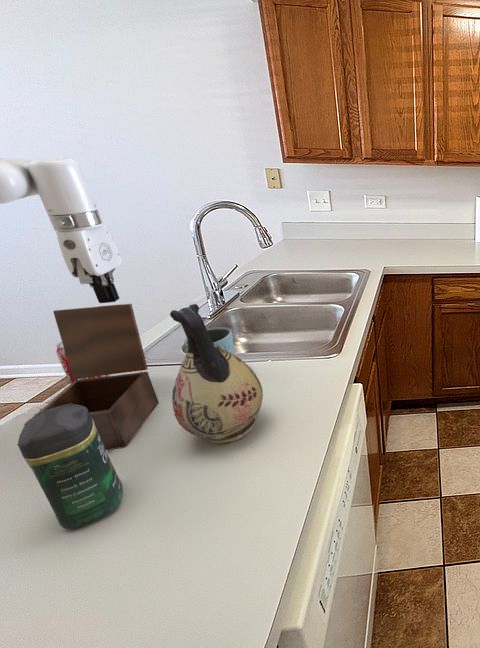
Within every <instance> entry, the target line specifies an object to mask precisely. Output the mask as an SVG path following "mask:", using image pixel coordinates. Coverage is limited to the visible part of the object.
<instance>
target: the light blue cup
mask: <svg viewBox="0 0 480 648" xmlns="http://www.w3.org/2000/svg"><path fill="white" fill-rule="evenodd" d="M206 329H207V331H208V333H209V337H210V339H211V341H212V342H213V343H214V344H215V345H217V346H219V347H221V348H223V349H224V350H226V351H228V352H230V353H232V354H233V355H235V356H236V355H237V354H236V350H235V346H234V345H235V344H234V337H233V333H232V329H230V328H229V327H226V326H225V327H223V326H219V327H218V326H217V327H209V328H206ZM183 344H184V347H185V348H186V351H187V350H188V343H187V337H185V339H184V340H183ZM236 357H237V356H236Z"/></svg>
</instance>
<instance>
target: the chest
mask: <svg viewBox="0 0 480 648" xmlns="http://www.w3.org/2000/svg"><path fill="white" fill-rule="evenodd" d="M70 403H72V404H76V405H81V406H84V407H86V408H87V409H88V411H89V414H90V416H91V417H92V419H93V422H94V424H95V426H96V428H97V431H98V433H99V436H100V438H101V440H102V443H103V445H104V447H105V449H106V451H108V450H114V449H120V448H126V447H127V446H128V445H129V444H130V442H131V441H132V440H133V439H134V437H135V436H136V434H138V432H139V431H140V429H141V428H142V427H143V425H144V424H145V423H146V421H147V420H148V419H149V417H150V416H151V415H152V413H153V412H154V411H155V409H157V407H158V406H159V404H160V401H159V398H158V395H157V393H156V390H155V387H154V385H153V382H152V380H151V378H150V375H149V372H148V371H138V372H130V373H122V374H114V375H110V376H107V377H99V378H91V379H83V380H75V381H74V382H73V383H72V384H70V383H69V385H68V386H67V387H65V388H64V389H63V390H62V391H61V392H59V394H58V395H56V396H55V397H53V399H51V400H50V401H49V402H48V403H47V404H46V405H45V406H43V408H41V409H40V410H38V412H37V413H39V412H42V411H45V410H48V409H51V408H55V407H59V406H62V405H66V404H70ZM37 413H35V414H34V415H33V416H32V417H30V418H29V419H28V420H27V421H26V422H25V423H24V424H23V425H24V426H25V425H26V424H27V423H28V422H29V421H30V420H31V419H32V418H33V417H35V416H36V415H37Z"/></svg>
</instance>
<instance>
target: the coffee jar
mask: <svg viewBox="0 0 480 648" xmlns="http://www.w3.org/2000/svg"><path fill="white" fill-rule="evenodd" d="M38 412H39V411H38ZM38 412H36V414H37V415H36V416H35V417H33V416H32V417H33V418H32V417H31V418H32V419H31V418H30V419H31V420H30V419H29V420H30V421H29V422H28V423H27V424H26V425H24V426H23V427H22V430H21V431H20V434H19V437H18V441H17V444H16V445H17V446H18V448H19V450H20V453H21V455H22V457H23V459H24V460H25V462H26V464H27V465H28V466H29V467H30V469H31V471H32V473H33V474H34V476H35V479H36V480H37V482H38V483H39V484H38V485H39V486H40V488H41V490H42V492H43V493H44V495H45V497H46V499H47V501H48V503H49V505H50V508H51V509H52V511H53V513H54V515H55V518H56V519H57V521H58V523H59V525H60V526H61V528H62V529H66V530H72V529H77V528H81V527H85V526H87V525H91V524H92V523H95V522H97V521H99V520H101V519H103V518H105V516H107V515H109V514H110V513H112V512H113V511H114V510H116V509H117V508H118V507H119V505H120V503H121V500H122V497H123V486H122V481H121V479H120V478H119V475H118V473H117V471H116V469H115V467H114V465H113V463H112V460H111V459H110V456H109V454H108V452H107V451H108V450H106V449H105V447H104V445H103V443H102V440H101V438H100V436H99V433H98V431H97V428H96V426H95V424H94V422H93V419H92V417H91V416H90V414H89V411H88V409H87V408H86V407H84V406H81V405H76V404H72V403H70V404H66V405H62V406H59V407H55V408H51V409H48V410H45V411H42V412H39V413H38Z"/></svg>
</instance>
